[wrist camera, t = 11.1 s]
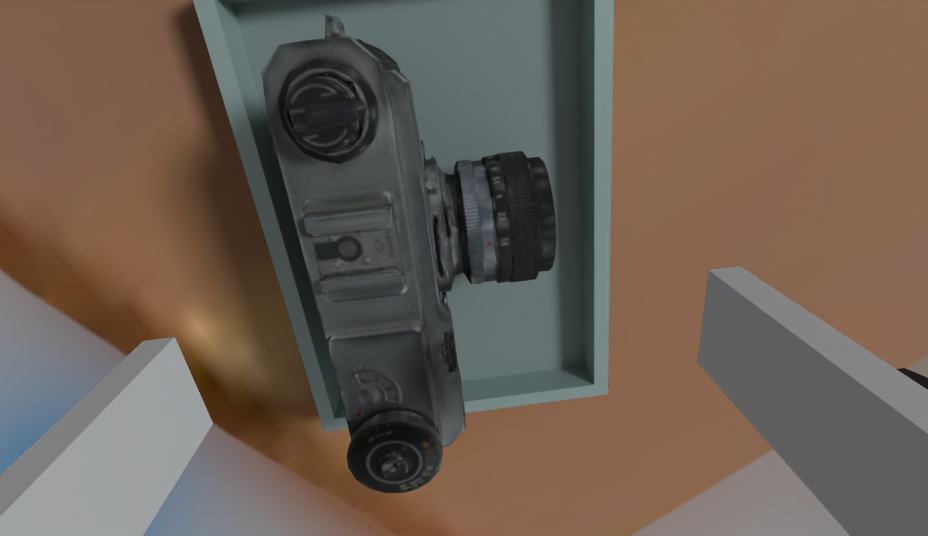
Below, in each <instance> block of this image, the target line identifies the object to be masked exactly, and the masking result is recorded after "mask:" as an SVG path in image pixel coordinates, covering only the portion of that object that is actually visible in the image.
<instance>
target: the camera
mask: <svg viewBox="0 0 928 536" xmlns="http://www.w3.org/2000/svg"><path fill="white" fill-rule="evenodd" d="M261 74H262V81H263V89H264V97H265V105H266V113H267V118H268V122H269V126H270V131H271V145H272V149H273V153H274V157H275V161H276V162H277V163H278V164H279V166H280V167H281V171H282V175H283V179H284V183H285V186H286V190H287V194H288V198H289V202H290V205H291V209H292V213H293V217H294V221H295V225H296V229H297V232H298V236H299V240H300V244H301V248H302V252H303V255H304V259H305V263H306V267H307V271H308V274H309V278H310V282H311V286H312V290H313V294H314V297H315V301H316V305H317V309H318V313H319V317H320V321H321V324H322V328H323V332H324V336H325V339H326V343H327V347H328V350H329V356H330V360H331V363H332V367H333V370H334V373H335V377H336V380H337V384H338V388H339V396H340V400H341V403H342V406H343V409H344V412H345V416H346V420H347V424H348V428H349V432H350V436H351V442H350V445H349V448H348V453H347V461H348V468H349V469H350V471H351V472H352V474H353V476H354V477H355V479H356V480H357V481H359V482H360V483H362V484H363V485H365V486H366V487H368V488H369V489H373V490H376V491H380V492H384V493H405V492H409V491H413V490H415V489H418V488H420V487H422V486H423V485H425V484H427V483H428V482H430V480H431V479H432V478H433V477H434V476H435V475H436V474H437V473H438V471H439V470H440V465H441V461H442V453H443V451H442V447H445V446H450V445H451V444H452V443H453V442H454V440H455V439H456V438H457V437H458V436H459V435H460V434H461V433H462V431H463V430H464V429H465V428H466V426H465V417H466V412H465V404H464V396H463V388H462V381H461V375H460V370H459V367H458V361H457V353H456V345H455V337H454V330H453V323H452V316H451V310H450V308H449V307H448V301H447V294H446V291H451V290H452V286H453V282H454V278H455V276H457V275H459V274H461V273H464V274H465V276H466V277H467V279H468V281H469V282H470V284H481V283H483V282H489V281H497V283H503V282H511V283H512V282H519V281H528V280H535V279H536V278H537V276H538V273H539V272H542V271H550V270H551V268H552V267H553V264H554V260H555V251H556V221H555V210H554V202H553V195H552V189H551V184H550V179H549V175H548V171H547V168H546V166H545V163H544V161H543V160H542V159H541V158H540V157H532V158H527V157H526V155H525V154H524V152H523V151H515V152H506V153H499V154H495V155H491V156H486V157H482V159H481V160H477V161H470V160H468V159H467V160H461V161H456V164H455V166H454V174H452V175H448V174H446V173H443V172H442V170H441V169H440V167H439V165H438V163H437V161H436V158H434V157H433V155H432V157H431V158H430V159H427V160H426V155H425V148H424V142H423V140H420V134H419V129H418V123H417V118H416V112H415V107H414V101H413V97H414V96H413V94H412V90H411V85H410V81H409V80H408V79H407V78H406V77H405V75H404V74H402V73H401V72H400V68H399V65H398V63H397V62H396V61H394V60H393V59H392V58H391V57H390V56H389V55H387V54H386V53H385V52H384V51H383V50H381V49H379V48H377V47H375V46H373V45H370V44H368V43H365V42H363V41H362V40H361V39H354V38H353V37H351V36H348V37H346V33H345V29H344V26H343V24H342V21H341V19H340V18H339V17H335V16H330V15H326V14H325V38H323V39H313V40H304V41H298V42H292V43H287V44H281V45H278V46H277V48H276V49H275V51H274V53H273V54H272V56H271V57H270V59H269V61H268V62H267V64H266V66H265V67H264V69H263V71H262V72H261Z"/></svg>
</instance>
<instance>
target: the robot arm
mask: <svg viewBox="0 0 928 536" xmlns="http://www.w3.org/2000/svg"><path fill="white" fill-rule="evenodd" d="M697 363H698V364H699V365H700V366H701V367H702V368H703V369H704V371H705V372H706V373H707V374H708V375H709V376H710V377H711V378H712V380H713V381H714V382H715V383H716V384H717V385H718V386H719V388H720V389H721V390H722V391H723V392H724V393H725V394H726V395H727V397H728V398H729V399H730V400H731V401H732V402H733V403H734V405H735V406H736V407H737V408H738V409H739V410H740V411H741V413H742V414H743V415H744V416H745V417H746V418H747V419H748V420H749V422H750V423H751V424H752V425H753V426H754V427H755V428H756V430H757V431H758V432H759V433H760V434H761V435H762V436H763V437H764V439H765V440H766V441H767V442H768V443H769V444H770V445H771V447H772V448H773V449H774V450H775V451H776V452H777V453H778V454H779V456H780V457H781V458H782V459H783V460H784V461H785V462H786V464H787V465H788V466H789V467H790V468H791V469H792V470H793V471H794V473H796V475H797V476H798V477H799V478H800V479H801V481H802V482H803V483H804V484H805V485H806V486H807V487H808V488H809V489H810V491H811V492H812V493H813V494H814V495H815V496H816V497H817V498H818V500H819V501H820V502H821V503H822V504H823V505H824V507H825V508H826V509H827V510H828V511H829V512H830V513H831V515H832V516H833V517H834V518H835V519H836V520H837V521H838V522H839V524H840V525H841V526H842V527H843V528H844V529H845V530H846V532H847V533H848V534H849V535H850V536H928V378H927V377H924V376H922V375H919V374H917V373H915V372H912V371H910V370H908V369H905V368H902V369H895V368H894V367H892V366H891V365H889V364H888V363H886V362H885V361H883V360H882V359H880V358H878V357H877V356H875V355H874V354H872V353H871V352H869V351H868V350H866V349H865V348H863V347H862V346H860V345H859V344H857V343H856V342H854V341H853V340H851V339H850V338H848V337H847V336H845V335H844V334H842V333H840V332H839V331H837V330H836V329H834V328H833V327H831V326H830V325H828V324H827V323H825V322H824V321H822V320H821V319H819V318H818V317H816V316H815V315H813V314H812V313H810V312H809V311H807V310H805V309H804V308H802V307H801V306H799V305H798V304H796V303H795V302H793V301H792V300H790V299H789V298H787V297H786V296H784V295H783V294H781V293H780V292H778V291H777V290H775V289H774V288H772V287H770V286H769V285H767V284H766V283H764V282H763V281H761V280H760V279H758V278H757V277H755V276H754V275H752V274H751V273H749V272H748V271H746V270H745V269H743V268H742V267H740V266H737V267H729V268H721V269H713V270H709V271H708V280H707V288H706V296H705V304H704V313H703V321H702V329H701V337H700V346H699V354H698V362H697ZM212 425H213V422H212V420H211V418H210V416H209V413H208V411H207V409H206V407H205V404H204V402H203V400H202V398H201V395H200V393H199V391H198V389H197V386H196V384H195V382H194V380H193V377H192V375H191V373H190V371H189V368H188V366H187V364H186V361H185V359H184V357H183V355H182V352H181V350H180V348H179V346H178V343H177V341H176V339H175V337H171V338H163V339H155V340H148V341H143V342H142V343H141V344H140V345H139V346H138V347H136V348H135V349H134V350H133V351H132V352H131V353H130V354H129V355H128V356H127V357H126V358H125V359H124V360H123V361H121V362H120V363H119V364H118V365H117V366H116V367H115V368H114V369H113V370H112V371H111V372H110V373H109V374H108V375H107V376H105V377H104V378H103V379H102V380H101V381H100V382H99V383H98V384H97V385H96V386H95V387H94V388H93V389H91V391H89V392H88V393H87V394H86V395H85V396H84V397H83V398H82V399H81V400H80V401H79V402H78V403H77V404H75V405H74V406H73V407H72V408H71V409H70V410H69V411H68V412H67V413H66V414H65V415H64V416H63V417H61V418H60V419H59V420H58V421H57V422H56V423H55V424H54V425H53V426H52V427H51V428H50V429H49V430H48V431H46V432H45V434H43V435H42V436H41V437H40V438H39V439H38V440H37V441H36V442H35V443H34V444H33V445H32V446H31V447H29V449H27V450H26V451H25V452H24V453H23V454H22V455H21V456H20V457H19V458H18V459H16V461H14V462H13V463H12V464H11V465H10V466H9V467H8V468H7V469H6V470H5V471H4V472H3V473H1V474H0V536H143V535H144V533H145V531H146V530H147V528H148V527H149V525H150V523H151V522H152V520H153V518H154V517H155V515H156V514H157V512H158V511H159V509H160V507H161V506H162V504H163V503H164V501H165V499H166V498H167V496H168V495H169V493H170V492H171V490H172V488H173V487H174V485H175V484H176V482H177V480H178V479H179V477H180V476H181V474H182V472H183V471H184V469H185V467H186V466H187V464H188V463H189V461H190V459H191V458H192V457H193V455H194V453H195V452H196V450H197V448H198V447H199V445H200V444H201V442H202V441H203V439H204V437H205V436H206V434H207V433H208V431H209V429H210V428H211V426H212Z"/></svg>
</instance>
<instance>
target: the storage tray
mask: <svg viewBox="0 0 928 536" xmlns="http://www.w3.org/2000/svg"><path fill="white" fill-rule="evenodd" d="M193 2H194V6H195V9H196V12H197V15H198V19H199V22H200V25H201V29H202V32H203V35H204V38H205V42H206V45H207V48H208V52H209V55H210V58H211V62H212V65H213V68H214V71H215V75H216V78H217V81H218V85H219V88H220V91H221V94H222V98H223V101H224V104H225V108H226V111H227V114H228V118H229V121H230V124H231V127H232V131H233V134H234V137H235V141H236V144H237V147H238V150H239V154H240V157H241V160H242V164H243V167H244V170H245V174H246V177H247V180H248V183H249V187H250V190H251V193H252V197H253V200H254V203H255V206H256V210H257V213H258V216H259V220H260V223H261V226H262V230H263V233H264V236H265V239H266V243H267V246H268V249H269V253H270V256H271V259H272V262H273V266H274V269H275V272H276V276H277V279H278V282H279V285H280V289H281V292H282V295H283V299H284V302H285V305H286V309H287V312H288V315H289V318H290V322H291V325H292V328H293V332H294V335H295V338H296V341H297V345H298V348H299V351H300V355H301V358H302V361H303V365H304V368H305V371H306V374H307V378H308V381H309V384H310V388H311V391H312V394H313V397H314V401H315V404H316V407H317V411H318V414H319V417H320V421H321V424H322V427H323V430H324V431H332V430H340V429H347V428H348V424H347V420H346V416H345V412H344V409H343V406H342V403H341V400H340V396H339V388H338V384H337V380H336V377H335V373H334V370H333V367H332V363H331V360H330V356H329V350H328V347H327V343H326V339H325V336H324V332H323V328H322V324H321V321H320V317H319V313H318V309H317V305H316V301H315V297H314V294H313V290H312V286H311V282H310V278H309V274H308V271H307V267H306V263H305V259H304V255H303V252H302V248H301V244H300V240H299V236H298V232H297V229H296V225H295V221H294V217H293V213H292V209H291V205H290V202H289V198H288V194H287V190H286V186H285V183H284V179H283V175H282V171H281V167H280V166H279V164H278V163H277V162H276V161H275V157H274V153H273V149H272V145H271V131H270V126H269V122H268V118H267V113H266V105H265V97H264V89H263V81H262V74H261V72H262V71H263V69H264V67H265V66H266V64H267V62H268V61H269V59H270V57H271V56H272V54H273V53H274V51H275V49H276V48H277V46H278V45H281V44H287V43H292V42H298V41H304V40H313V39H323V38H325V14H326V15H330V16H335V17H339V18H340V19H341V21H342V24H343V26H344V29H345V33H346V37H348V36H351V37H353V38H354V39H361V40H362V41H363V42H365V43H368V44H370V45H373V46H375V47H377V48H379V49H381V50H383V51H384V52H385V53H386V54H387V55H389V56H390V57H391V58H392V59H393V60H394V61H396V62H397V63H398V65H399V68H400V72H401V73H402V74H404V75H405V77H406V78H407V79H408V80H409V81H410V85H411V90H412V94H413V96H414V97H413V101H414V107H415V112H416V118H417V123H418V129H419V134H420V140H423V142H424V148H425V155H426V160H427V159H430V158H431V157H432V155H433V157H434V158H436V161H437V163H438V165H439V167H440V169H441V170H442V172H443V173H446V174H448V175H452V174H454V166H455V164H456V161H461V160H467V159H468V160H470V161H477V160H481V159H482V157H486V156H491V155H495V154H499V153H506V152H515V151H523V152H524V154H525V155H526V157H527V158H532V157H540V158H541V159H542V160H543V161H544V163H545V166H546V168H547V171H548V175H549V179H550V184H551V189H552V195H553V202H554V210H555V221H556V251H555V260H554V264H553V267H552V268H551V270H550V271H542V272H539V273H538V276H537V278H536V279H535V280H528V281H519V282H512V283H511V282H503V283H497V281H489V282H483V283H481V284H470V282H469V281H468V279H467V277H466V276H465V274H464V273H461V274H459V275H457V276H455V278H454V282H453V286H452V290H451V291H446V294H447V301H448V307H449V308H450V310H451V316H452V323H453V330H454V337H455V345H456V353H457V361H458V367H459V370H460V375H461V381H462V388H463V396H464V404H465V412H466V413H469V412H476V411H484V410H492V409H499V408H507V407H514V406H522V405H530V404H537V403H545V402H552V401H560V400H568V399H575V398H583V397H590V396H598V395H606V394H608V355H609V289H610V224H611V158H612V93H613V27H614V0H193Z"/></svg>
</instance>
